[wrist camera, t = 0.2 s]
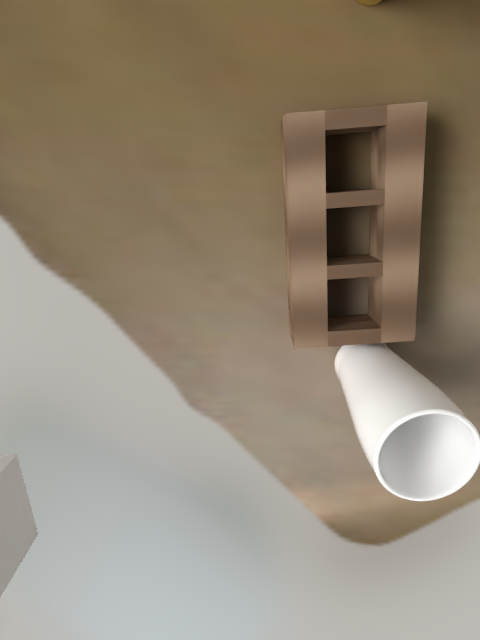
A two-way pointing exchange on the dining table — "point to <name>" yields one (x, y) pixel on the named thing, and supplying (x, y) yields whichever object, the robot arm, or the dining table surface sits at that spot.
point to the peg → (368, 2)
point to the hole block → (385, 223)
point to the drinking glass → (406, 424)
